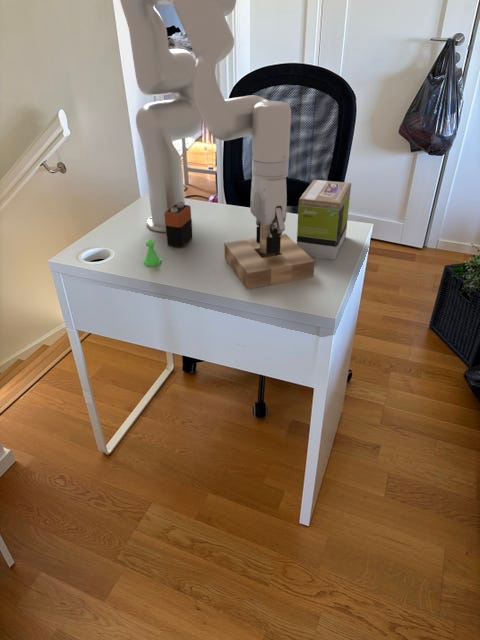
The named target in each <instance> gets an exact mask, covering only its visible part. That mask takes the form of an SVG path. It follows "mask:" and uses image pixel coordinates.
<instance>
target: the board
mask: <svg viewBox="0 0 480 640" xmlns="http://www.w3.org/2000/svg"><path fill="white" fill-rule="evenodd" d="M223 248H224V250H223V251H224V259H225V261H226V262H227V263H228V265H229V266H230V267H231V269H232V270H233V272H234V273H235V274H236V276H237V277H238V279H239V280H240V282H241V283H242V284H243V285H244V286H245V288H246V289H247V290H250V289H257V288H261V287H265V286H272V285H277V284H282V283H288V282H294V281H298V280H304V279H309V278H313V277H314V275H315V265H316V264H315V263H316V261H315V259H313V257H310V256H309V255H308V254H307V253H306V252H305V251H304V250H302V249H301V248H300V247H299V246H298V245H297V242H295V241H294V240H293V239H292V238H291V237H290V236H288V234H286V233H282V236H281V243H280V252H277V253H275V256H271V257H265V258H261V256H260V252H259V249H260V243H257V242H256V237H254V238H249V239H243V240H242V239H241V240H236V241H235V240H234V241H229V242H224V243H223Z"/></svg>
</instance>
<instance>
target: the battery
mask: <svg viewBox="0 0 480 640" xmlns="http://www.w3.org/2000/svg"><path fill="white" fill-rule="evenodd" d="M191 209H192V208H191V205H189V204H188V205H187V204H185V205H184V202H177V203H176V204H175V205H174V206H173V207H171V208H170V209H169V210H167V211H166V212H165V213H164V215H165V224H166V232H165V233H166V241H167V243H166V244H167V246H169V247H173V248H175V247H176V248H181V249H182V248H183V247H185V246H186V244H187V243H189V242H190V241H191V240H192V239H193V225H192V223H193V221H192V222H191V219H192V211H191Z"/></svg>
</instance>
